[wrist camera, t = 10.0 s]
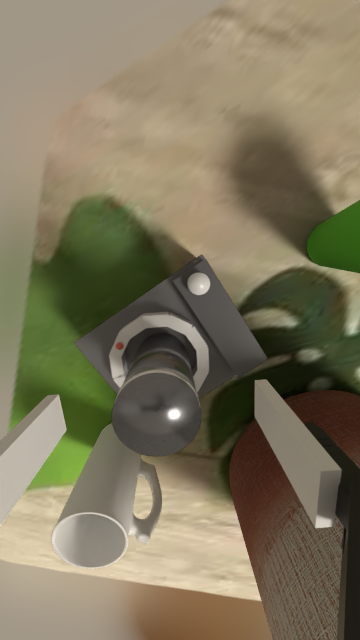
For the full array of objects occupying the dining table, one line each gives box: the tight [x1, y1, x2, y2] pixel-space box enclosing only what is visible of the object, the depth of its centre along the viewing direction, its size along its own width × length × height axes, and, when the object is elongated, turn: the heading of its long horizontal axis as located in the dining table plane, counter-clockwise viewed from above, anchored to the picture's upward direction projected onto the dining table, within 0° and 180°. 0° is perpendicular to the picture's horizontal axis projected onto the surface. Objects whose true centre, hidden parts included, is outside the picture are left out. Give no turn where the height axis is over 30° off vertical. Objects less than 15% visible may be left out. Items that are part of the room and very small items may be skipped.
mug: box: [51, 423, 162, 569], centre depth 25 cm, size 10×7×12 cm, turn 66°
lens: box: [112, 333, 201, 456], centre depth 18 cm, size 6×6×10 cm
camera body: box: [75, 255, 268, 398], centre depth 24 cm, size 16×13×7 cm
